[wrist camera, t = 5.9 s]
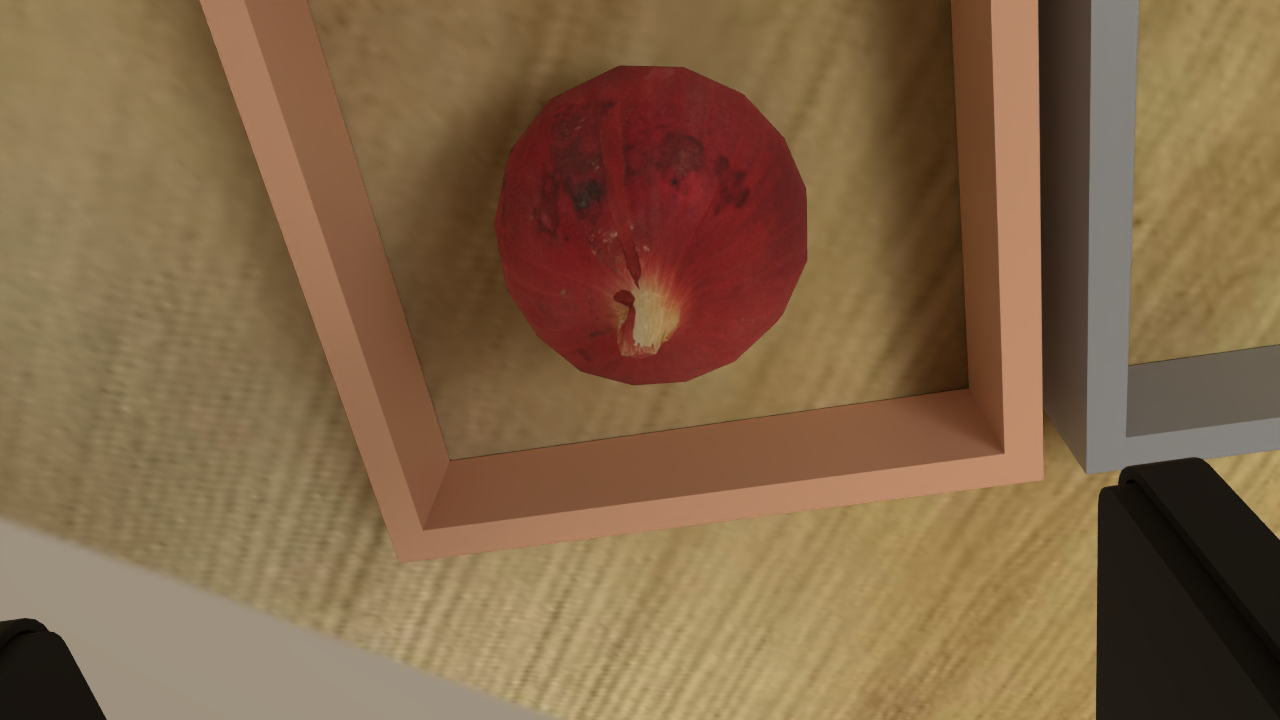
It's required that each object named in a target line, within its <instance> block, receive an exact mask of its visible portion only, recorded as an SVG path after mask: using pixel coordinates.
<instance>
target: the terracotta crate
mask: <svg viewBox="0 0 1280 720" xmlns="http://www.w3.org/2000/svg"><path fill="white" fill-rule="evenodd" d="M199 1H200V3H201V6H202V9H203V12H204V15H205V17H206V20H207V23H208V26H209V29H210V31H211V34H212V37H213V40H214V43H215V46H216V48H217V51H218V54H219V57H220V60H221V62H222V65H223V68H224V71H225V74H226V77H227V79H228V82H229V85H230V88H231V91H232V93H233V96H234V99H235V102H236V105H237V108H238V110H239V113H240V116H241V119H242V122H243V124H244V127H245V130H246V133H247V136H248V138H249V141H250V144H251V147H252V150H253V153H254V155H255V158H256V161H257V164H258V167H259V169H260V172H261V175H262V178H263V181H264V184H265V186H266V189H267V192H268V195H269V198H270V200H271V203H272V206H273V209H274V212H275V215H276V217H277V220H278V223H279V226H280V229H281V231H282V234H283V237H284V240H285V243H286V245H287V248H288V251H289V254H290V257H291V260H292V262H293V265H294V268H295V271H296V274H297V276H298V279H299V282H300V285H301V288H302V291H303V293H304V296H305V299H306V302H307V305H308V307H309V310H310V313H311V316H312V319H313V322H314V324H315V327H316V330H317V333H318V336H319V338H320V341H321V344H322V347H323V350H324V352H325V355H326V358H327V361H328V364H329V367H330V369H331V372H332V375H333V378H334V381H335V383H336V386H337V389H338V392H339V395H340V398H341V400H342V403H343V406H344V409H345V412H346V414H347V417H348V420H349V423H350V426H351V429H352V431H353V434H354V437H355V440H356V443H357V445H358V448H359V451H360V454H361V457H362V460H363V462H364V465H365V468H366V471H367V474H368V476H369V479H370V482H371V485H372V488H373V490H374V493H375V496H376V499H377V502H378V505H379V507H380V510H381V513H382V516H383V519H384V521H385V524H386V527H387V530H388V533H389V536H390V538H391V541H392V544H393V547H394V550H395V552H396V555H397V558H398V561H399V563H403V562H411V561H419V560H427V559H434V558H442V557H450V556H458V555H465V554H473V553H481V552H489V551H496V550H504V549H512V548H520V547H527V546H535V545H543V544H551V543H559V542H566V541H574V540H582V539H590V538H597V537H605V536H613V535H621V534H628V533H636V532H644V531H652V530H659V529H667V528H675V527H683V526H690V525H698V524H706V523H714V522H721V521H729V520H737V519H745V518H753V517H760V516H768V515H776V514H784V513H791V512H799V511H807V510H815V509H822V508H830V507H838V506H846V505H853V504H861V503H869V502H877V501H884V500H892V499H900V498H908V497H915V496H923V495H931V494H939V493H946V492H954V491H962V490H970V489H978V488H985V487H993V486H1001V485H1009V484H1016V483H1024V482H1032V481H1040V480H1043V395H1042V306H1041V217H1040V128H1039V39H1038V0H951V17H952V39H953V60H954V81H955V102H956V124H957V145H958V166H959V187H960V209H961V230H962V251H963V272H964V294H965V315H966V336H967V357H968V379H969V388H968V389H961V390H953V391H946V392H939V393H932V394H925V395H918V396H911V397H904V398H896V399H889V400H882V401H875V402H868V403H861V404H854V405H846V406H839V407H832V408H825V409H818V410H811V411H804V412H796V413H789V414H782V415H775V416H768V417H761V418H754V419H746V420H739V421H732V422H725V423H718V424H711V425H704V426H697V427H689V428H682V429H675V430H668V431H661V432H654V433H647V434H639V435H632V436H625V437H618V438H611V439H604V440H597V441H589V442H582V443H575V444H568V445H561V446H554V447H547V448H539V449H532V450H525V451H518V452H511V453H504V454H497V455H489V456H482V457H475V458H468V459H461V460H454V461H450V460H449V456H448V453H447V450H446V447H445V444H444V440H443V437H442V434H441V431H440V427H439V424H438V421H437V418H436V415H435V411H434V408H433V405H432V402H431V399H430V395H429V392H428V389H427V386H426V382H425V379H424V376H423V373H422V370H421V366H420V363H419V360H418V357H417V354H416V350H415V347H414V344H413V341H412V338H411V334H410V331H409V328H408V325H407V321H406V318H405V315H404V312H403V309H402V305H401V302H400V299H399V296H398V293H397V289H396V286H395V283H394V280H393V276H392V273H391V270H390V267H389V264H388V260H387V257H386V254H385V251H384V248H383V244H382V241H381V238H380V235H379V231H378V228H377V225H376V222H375V219H374V215H373V212H372V209H371V206H370V203H369V199H368V196H367V193H366V190H365V186H364V183H363V180H362V177H361V174H360V170H359V167H358V164H357V161H356V158H355V154H354V151H353V148H352V145H351V141H350V138H349V135H348V132H347V129H346V125H345V122H344V119H343V116H342V113H341V109H340V106H339V103H338V100H337V97H336V93H335V90H334V87H333V84H332V80H331V77H330V74H329V71H328V68H327V64H326V61H325V58H324V55H323V52H322V48H321V45H320V42H319V39H318V35H317V32H316V29H315V26H314V23H313V19H312V16H311V13H310V10H309V7H308V3H307V0H199Z"/></svg>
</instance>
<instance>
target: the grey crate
mask: <svg viewBox="0 0 1280 720" xmlns="http://www.w3.org/2000/svg"><path fill="white" fill-rule="evenodd" d="M1138 19H1139V0H1038V39H1039V128H1040V217H1041V306H1042V395H1043V410H1044V411H1045V413H1046V414H1047V416H1048V417H1049V419H1050V420H1051V422H1052V423H1053V425H1054V426H1055V428H1056V429H1057V431H1058V432H1059V434H1060V435H1061V437H1062V438H1063V440H1064V441H1065V443H1066V444H1067V446H1068V447H1069V449H1070V450H1071V452H1072V453H1073V455H1074V456H1075V458H1076V460H1077V461H1078V463H1079V464H1080V466H1081V467H1082V469H1083V470H1084V472H1085V473H1086V474H1094V473H1102V472H1109V471H1117V470H1123V469H1124V468H1125V467H1126V466H1132V465H1139V464H1146V463H1154V462H1161V461H1168V460H1175V459H1183V458H1190V457H1197V458H1201V459H1210V458H1218V457H1226V456H1234V455H1241V454H1249V453H1257V452H1265V451H1272V450H1280V345H1275V346H1268V347H1260V348H1253V349H1246V350H1239V351H1232V352H1225V353H1218V354H1210V355H1203V356H1196V357H1189V358H1182V359H1175V360H1168V361H1161V362H1153V363H1146V364H1139V365H1132V366H1128V350H1129V317H1130V284H1131V251H1132V218H1133V184H1134V151H1135V118H1136V85H1137V52H1138Z"/></svg>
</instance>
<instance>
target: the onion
mask: <svg viewBox="0 0 1280 720" xmlns="http://www.w3.org/2000/svg"><path fill="white" fill-rule="evenodd" d="M494 225H495V230H496V236H497V241H498V246H499V252H500V257H501V262H502V268H503V273H504V278H505V283H506V287H507V291H508V292H509V294H510V295H511V297H512V298H513V300H514V301H515V303H516V304H517V306H518V307H519V309H520V310H521V312H522V313H523V315H524V316H525V318H526V319H527V321H528V322H529V324H530V325H531V327H532V328H533V330H534V331H535V333H536V334H537V336H538V337H539V338H540V339H542V340H543V341H544V342H545V343H547V344H548V345H549V346H550V347H551V348H553V349H554V350H555V351H556V352H558V353H559V354H560V355H561V356H562V357H564V358H565V359H566V360H567V361H569V362H570V363H571V364H572V365H573V366H575V367H576V368H577V369H578V370H580V371H581V372H585V373H588V374H592V375H596V376H600V377H604V378H608V379H611V380H615V381H619V382H623V383H627V384H631V385H645V384H660V383H674V382H686V381H689V380H691V379H693V378H696V377H698V376H701V375H703V374H705V373H708V372H710V371H713V370H715V369H717V368H720V367H722V366H725V365H727V364H729V363H732V362H734V361H736V360H737V359H738V358H739V357H740V356H741V355H742V354H743V353H744V352H745V351H746V350H747V349H748V348H749V347H751V346H752V345H753V344H754V343H755V342H756V341H757V340H758V339H759V338H760V337H761V336H762V335H763V334H764V333H765V332H767V331H768V330H769V329H770V328H771V327H772V326H773V325H774V324H775V323H776V322H777V321H778V320H779V318H780V317H781V316H782V315H783V312H784V310H785V308H786V306H787V304H788V301H789V299H790V297H791V295H792V293H793V290H794V288H795V286H796V284H797V282H798V279H799V277H800V275H801V273H802V271H803V268H804V266H805V264H806V262H807V198H806V187H805V185H804V183H803V181H802V178H801V176H800V174H799V171H798V169H797V167H796V164H795V162H794V160H793V157H792V155H791V153H790V150H789V148H788V146H787V143H786V141H785V139H784V137H783V136H782V135H781V134H780V133H779V132H778V131H777V130H776V129H775V127H774V126H773V125H772V124H771V123H770V122H769V121H768V120H767V119H766V118H765V117H764V116H763V115H762V114H761V112H760V111H759V110H758V109H757V108H756V107H755V106H754V105H753V104H752V103H751V102H750V101H749V100H748V99H747V97H746V96H745V95H743V94H742V93H740V92H738V91H736V90H733V89H731V88H729V87H727V86H724V85H722V84H720V83H718V82H715V81H713V80H711V79H709V78H707V77H704V76H702V75H700V74H698V73H695V72H693V71H691V70H689V69H686V68H684V67H658V66H618V67H615V68H613V69H611V70H609V71H607V72H605V73H603V74H601V75H599V76H597V77H595V78H593V79H591V80H588V81H586V82H584V83H582V84H580V85H578V86H576V87H574V88H572V89H570V90H568V91H566V92H564V93H561V94H559V95H558V96H556V97H554V98H552V99H550V100H549V102H548V103H547V104H546V106H545V107H544V108H543V109H542V111H541V112H540V113H539V115H538V116H537V117H536V118H535V120H534V121H533V122H532V124H531V125H530V126H529V127H528V129H527V130H526V131H525V133H524V134H523V135H522V136H521V138H520V139H519V140H518V142H517V143H516V144H515V146H514V147H513V148H512V149H511V151H510V154H509V158H508V161H507V165H506V169H505V174H504V179H503V183H502V188H501V193H500V198H499V203H498V208H497V213H496V218H495V223H494Z"/></svg>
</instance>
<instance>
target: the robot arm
mask: <svg viewBox="0 0 1280 720" xmlns="http://www.w3.org/2000/svg"><path fill="white" fill-rule="evenodd" d="M0 720H106V717H105V716H104V714H103V712H102V710H101V708H100V706H99V705H98V703H97V701H96V699H95V697H94V695H93V693H92V691H91V690H90V688H89V686H88V684H87V682H86V680H85V678H84V677H83V675H82V673H81V671H80V669H79V667H78V665H77V664H76V662H75V660H74V658H73V656H72V654H71V652H70V651H69V649H68V647H67V645H66V643H65V642H64V640H63V639H62V638H61V637H60V636H59V635H58V634H56V633H54V632H49V631H48V630H47V628H46V627H45V626H44V625H43V624H42V623H40V622H38V621H37V620H35V619H28V618H23V619H16V620H8V621H1V622H0ZM1096 720H1280V540H1279V539H1278V538H1277V537H1276V536H1275V535H1274V533H1273V532H1272V531H1271V530H1270V529H1269V528H1268V527H1267V526H1266V525H1265V524H1264V523H1263V522H1262V521H1261V520H1260V518H1259V517H1258V516H1257V515H1256V514H1255V513H1254V512H1253V511H1252V510H1251V509H1250V508H1249V507H1248V506H1247V505H1246V504H1245V502H1244V501H1243V500H1242V499H1241V498H1240V497H1239V496H1238V495H1237V494H1236V493H1235V492H1234V491H1233V490H1232V489H1231V487H1230V486H1229V485H1228V484H1227V483H1226V482H1225V481H1224V480H1223V479H1222V478H1221V477H1220V476H1219V475H1218V474H1217V473H1216V471H1215V470H1214V469H1213V468H1212V467H1211V466H1210V465H1209V464H1208V463H1206V462H1205V461H1204V460H1203V459H1201V458H1197V457H1190V458H1183V459H1175V460H1168V461H1161V462H1154V463H1146V464H1139V465H1132V466H1126V467H1125V468H1124V469H1123V470H1122V471H1121V474H1120V476H1119V482H1118V485H1116V486H1108V487H1104V488H1103V489H1101V491H1100V494H1099V500H1098V568H1097V673H1096Z"/></svg>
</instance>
